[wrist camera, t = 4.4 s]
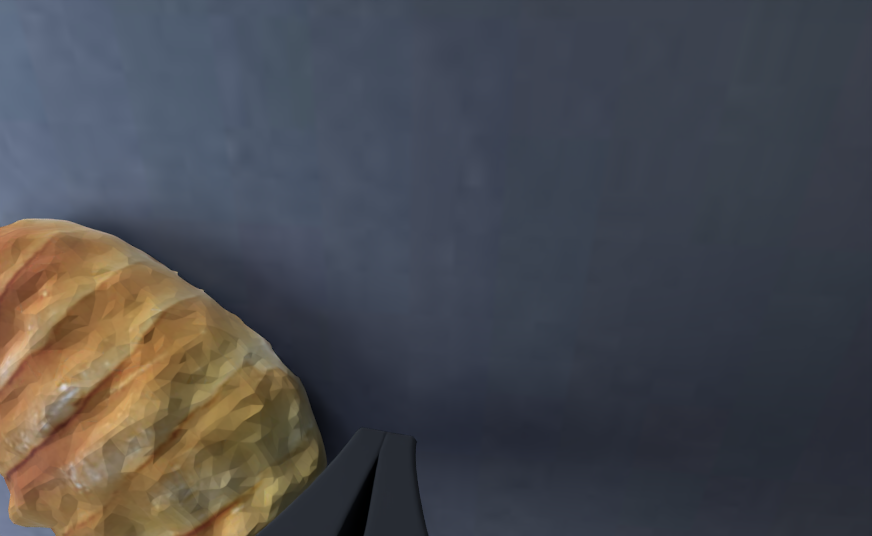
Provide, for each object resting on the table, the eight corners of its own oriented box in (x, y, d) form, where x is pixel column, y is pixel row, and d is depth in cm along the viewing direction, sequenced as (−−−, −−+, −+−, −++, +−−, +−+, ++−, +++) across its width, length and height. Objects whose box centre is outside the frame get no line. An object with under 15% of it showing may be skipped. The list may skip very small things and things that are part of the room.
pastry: (-44, 310, 12) (-266, 386, 9) (104, 144, 11) (-93, 151, 7) (209, 537, 14) (113, 684, 10) (371, 424, 12) (327, 550, 8)
